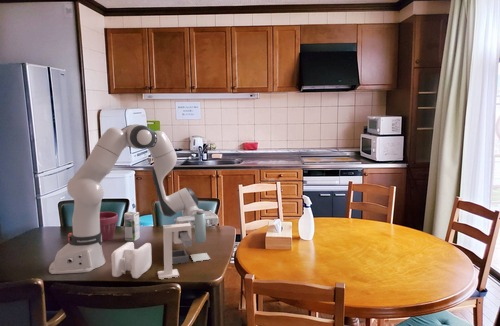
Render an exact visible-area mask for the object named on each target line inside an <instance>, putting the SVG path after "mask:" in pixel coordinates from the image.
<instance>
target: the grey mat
mask: <svg viewBox="0 0 500 326" xmlns="http://www.w3.org/2000/svg"><path fill="white" fill-rule="evenodd" d="M190 256H191V257H190ZM189 257H190V259H191V258H192V259H191V260H193V261H192V262H193V263H197V262H196V261H201V262H204V261H203V260H209V259H211V257H210V255H209V254H208V253H207V252H202V253H195V254H193V253H192V254H190V255H189ZM209 261H210V260H209Z"/></svg>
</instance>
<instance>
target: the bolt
mask: <svg viewBox="0 0 500 326" xmlns="http://www.w3.org/2000/svg"><path fill="white" fill-rule="evenodd" d="M179 224H184V223H179ZM178 236H179V238H180V240H181V242H182V243H181V244H182V245H183V248H190V247H193V239H192V240H191V238H190V236H189V235H188V233H187V231H178Z"/></svg>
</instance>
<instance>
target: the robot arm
mask: <svg viewBox="0 0 500 326" xmlns="http://www.w3.org/2000/svg"><path fill="white" fill-rule="evenodd" d="M127 147H129V148H132V149H136V150H138V149H140V150H146V149H147V150H148V151H149V153H150V155H151V157H152V160H153V168H151V175H152V179H153V185H154V188H155V191H156V195H157V199H158V204H159V205H158V206H159V210H160V212H161V213H162V215H163V216H165V217H169V218H170V217H171V218H172V217H173V216H174V215H176V214H177V213H179V212H181V214H182V216H178V217H175V218H174V219H173V222H174V224H179V223H190V224H191V229H195V216H194V214H195V213H196V212H198V211H203V212H204V213H205V219H206V228H207V227H210V226H213V225H218V224H219V221H220V219H219V218H220V217H219V216H218V215H217V214H216V213H214V212H213V211H212V210H211V209H202V208H199V199H198V197H197V195H196V194H195V192H194V191H193V189H191V188H189V187H183V188H182V189H180V190H177V191H176V192H173V193H171V194H169V195H166V194H167V193H166V191H165V187H164V179H165V178H166V176H167V175H168V174H169V173H170V172H171V171H172V170H173V169H174V167H175V166H176V164H177V161H178V156H177V153H176V150H175V148H174V146H173V144H172V142H171V140H170V139H169V137H168V136H167V134H166V133H165V131H162V130H155V131H154V130H153V129H152V128H150V127H148V126H147V125H142V124H137V123H136V124H130V125H126V126H124V127H123V128H121V129H120V128H118V127H109V128H107V129H106V130H105V131H104V133H103V134H102V135H101V136H100V138H99V139H98V140H97V142H96V143H95V145H94V147H93V149H92V150H91V152H90V153H89V155H88V157H87V158H86V160H85V161H84V163H83V164H82V165H81V167H80V168H79V169H78V170H77V171H76V173H75V174H74V175H73V176H72V177H71V178H70V179H69V180H68V182H67V184H66V190H67V193H68V195H69V197H71V198H72V199H73V202H74V203H73V204H74V205H73V213H72V217H71V221H72V226H71V227H72V232H69V233H68V234H67V243H66V244H65V245H64V246H63V247H62V248H61V249H59V250H58V251H57V252H56V255H55V256H54V257H55V258H54V261H52V262H51V263H50V264H49V267H48V272H49V273H50V274H52V275H57V274H76V273H77V274H79V273H89V272H91V271H93V270H94V269H98V268H100V267H102V266H103V265H104V264H105V263H106V258H105V255H104V251H103V247H102V243H103V241H102V234H101V231H100V212H101V206H102V200H103V198H104V189H103V187H102V185H101V184H100V183H102V180H104V179H105V177H107V176H108V175H109V174H110V173H111V171H112V170H113V168H114V167H115V165H116V163H117V161H118V160H119V157H120V156H121V154H122V152H123V151H124V149H126V148H127Z"/></svg>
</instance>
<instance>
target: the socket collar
mask: <svg viewBox="0 0 500 326" xmlns="http://www.w3.org/2000/svg"><path fill="white" fill-rule="evenodd" d="M189 257H190V255H189V254H188V252H187V249H186V248H185V249H177V250H176V249H175V250H172V264H174V265H179V264H178V263H181V264H186V263H185V262H190V259H189Z"/></svg>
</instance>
